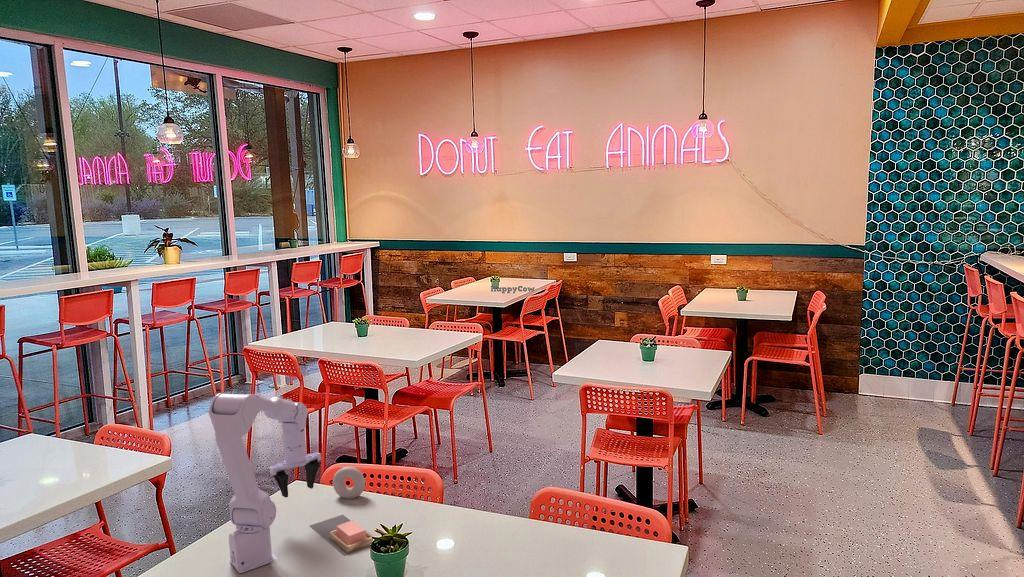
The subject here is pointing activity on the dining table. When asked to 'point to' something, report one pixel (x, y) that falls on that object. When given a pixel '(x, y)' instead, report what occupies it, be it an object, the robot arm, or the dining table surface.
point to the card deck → (350, 532)
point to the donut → (352, 474)
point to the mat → (330, 525)
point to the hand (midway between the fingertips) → (297, 491)
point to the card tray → (353, 546)
